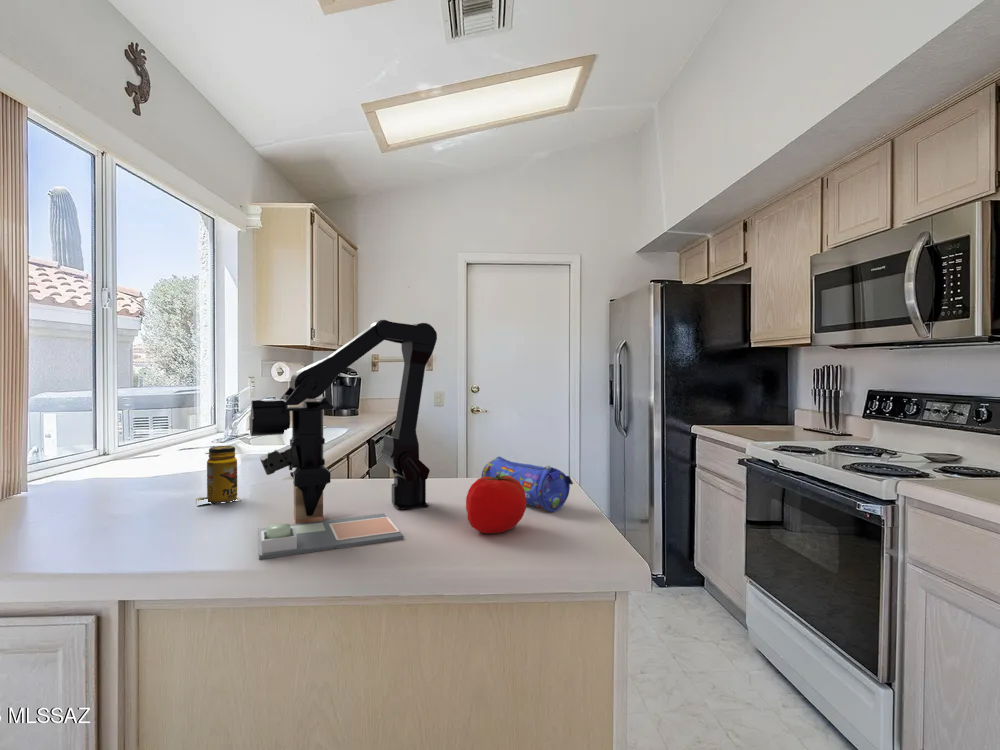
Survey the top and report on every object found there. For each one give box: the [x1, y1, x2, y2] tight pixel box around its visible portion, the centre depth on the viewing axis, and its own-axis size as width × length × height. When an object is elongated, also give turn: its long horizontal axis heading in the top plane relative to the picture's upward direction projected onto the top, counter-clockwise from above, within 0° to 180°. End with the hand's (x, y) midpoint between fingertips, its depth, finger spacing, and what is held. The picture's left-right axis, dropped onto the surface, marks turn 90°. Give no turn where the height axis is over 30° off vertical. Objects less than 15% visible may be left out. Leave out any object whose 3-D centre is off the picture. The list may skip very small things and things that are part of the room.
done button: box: [266, 522, 291, 539], centre depth 87 cm, size 4×4×2 cm
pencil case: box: [480, 456, 574, 513], centre depth 117 cm, size 22×9×10 cm, turn 40°
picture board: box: [257, 513, 404, 560], centre depth 94 cm, size 23×15×3 cm, turn 115°
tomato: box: [465, 475, 527, 535], centre depth 98 cm, size 11×13×10 cm
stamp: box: [293, 485, 324, 524], centre depth 104 cm, size 5×5×7 cm
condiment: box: [194, 445, 241, 503], centre depth 118 cm, size 7×8×12 cm
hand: (308, 512), depth 104 cm, fingers closed on stamp, 5 cm apart
